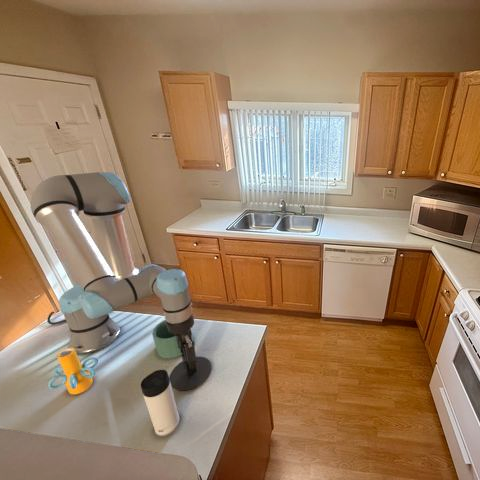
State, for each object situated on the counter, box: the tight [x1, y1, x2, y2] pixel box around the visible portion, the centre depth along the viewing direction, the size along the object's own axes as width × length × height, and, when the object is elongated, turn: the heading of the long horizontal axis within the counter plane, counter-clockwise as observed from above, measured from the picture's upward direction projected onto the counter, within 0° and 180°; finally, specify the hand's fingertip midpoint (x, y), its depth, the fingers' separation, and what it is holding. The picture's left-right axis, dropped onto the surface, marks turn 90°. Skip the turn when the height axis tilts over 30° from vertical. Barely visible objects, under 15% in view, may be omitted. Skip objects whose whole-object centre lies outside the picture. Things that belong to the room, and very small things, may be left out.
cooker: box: [151, 319, 194, 359], centre depth 99 cm, size 12×12×10 cm
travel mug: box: [140, 369, 181, 437], centre depth 70 cm, size 6×7×20 cm
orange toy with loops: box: [47, 347, 99, 395], centre depth 80 cm, size 12×10×15 cm
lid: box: [169, 355, 213, 392], centre depth 88 cm, size 13×13×9 cm
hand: (190, 369), depth 89 cm, fingers closed on lid, 3 cm apart
